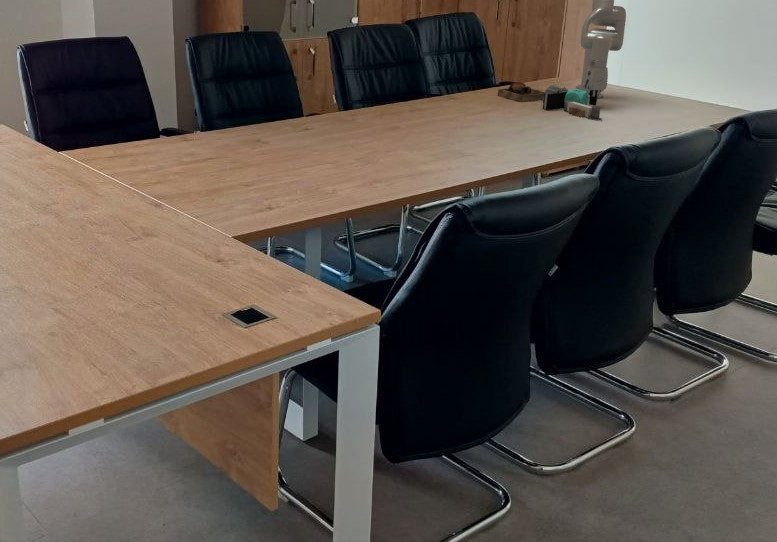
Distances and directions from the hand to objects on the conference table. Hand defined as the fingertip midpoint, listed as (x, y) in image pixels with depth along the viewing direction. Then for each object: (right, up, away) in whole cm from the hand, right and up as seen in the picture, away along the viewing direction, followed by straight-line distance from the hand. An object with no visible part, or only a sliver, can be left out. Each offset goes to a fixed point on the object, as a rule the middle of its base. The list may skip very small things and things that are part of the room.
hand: (592, 104), depth 412 cm
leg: (-10, -6, -16) cm, 20 cm away
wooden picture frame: (-29, +6, +13) cm, 33 cm away
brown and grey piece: (-7, -9, -20) cm, 23 cm away
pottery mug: (-32, +5, +12) cm, 34 cm away
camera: (-20, -3, -6) cm, 20 cm away
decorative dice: (-9, -3, -5) cm, 11 cm away
